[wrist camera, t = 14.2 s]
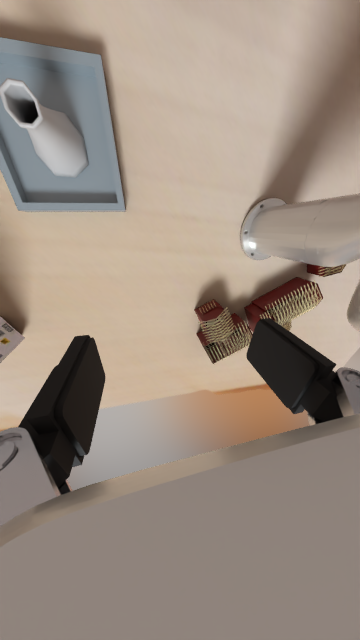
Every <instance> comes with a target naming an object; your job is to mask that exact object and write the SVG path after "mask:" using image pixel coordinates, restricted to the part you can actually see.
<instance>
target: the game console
mask: <svg viewBox="0 0 360 640" xmlns="http://www.w3.org/2000/svg"><path fill="white" fill-rule="evenodd" d="M24 338H25V337H23V336H22V335H21V334H20V333H19V332H17V331H16V330H15V329H14V328H13V327H12V326H11V325H9V324H8V323H7V322H6V321H5V320H4V319H3V318H2V317H1V316H0V363H1V362H2V361H3V360H4V359H5V358H6V357H7V356H8V355H9V354H10V353H11V352H12V351H13V350H14V349H15V348H16V347H17V346H18V344H19V343H20V342H21V341H22V340H23V339H24Z"/></svg>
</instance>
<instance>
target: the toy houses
mask: <svg viewBox="0 0 360 640" xmlns="http://www.w3.org/2000/svg"><path fill="white" fill-rule="evenodd" d="M345 266H346V264H344V265H340V266H334V267H323V266H318V265H312V264H307V272H308V273H311V274H315V275H319V277H321V276H323V277H325V276H329V275H333V274H337V273H340V272H342V270H343V269H344V267H345ZM314 282H315V280H314ZM314 282H311V281H308V280H304V279H301V278H298V277H296V278H294V279H292V280H290V281H289V282H287V283H285V284H283V285H281V286H279V287H278V288H276V289H274V290H272V291H270V292H268V293H266V294H265V295H263V296H261V297H259V298H257V299H255V300H254V301H252V304H250V305H248V306H246V307H244V308H245V312H246V316H247V320H248V324H249V326H248V324H247V323H246V322H245V321H244V320H242V319H241V318H240V317H239V316H238V315H237V314H236V313H233V314H232V315H230V316H228V317H227V315H228V314H229V313H228V314H227V315H226V313H227V312H228V311H227V312H226V313H225V310H226V309H227V308H228V307H227V308H226V309H225V310H224V308H223V307H222V306H221V305H220V304H219V303H217V302H216V301H215V300H214V299H213V300H211V301H209V302H208V303H206V304H204V305H202V306H200V307H198V308H197V309H195V312H196V314H197V316H198V318H199V320H200V322H199V323H201V324H202V325H200V326H202V327H203V329H204V330H202V331H200V332H198V333H197V336H198V338H199V340H200V341H201V343H202V345H203V347H205V346H206V345H208V344H210V343H211V344H212V342H215V343H216V344H215V345H214V346H213V345H212V347H209V348H208V349H207V348H206V347H205V348H204V349H206V350H205V351H206V353H207V354H208V356H209V358H210V360H211V361H212V363H213V364H214V363H216V362H217V361H220V360H221V359H222V360H223V358H225V357H226V358H227V356H229V355H231V354H233V353H234V354H235V352H236V351H237V353H238V351H239V350H240V349H242V348H244V347H245V348H246V346H247V345H248V346H249V344H250V342H251V339H252V335H253V334H252V332H251V330H252V331H253V332H254V329H255V326H256V323H257V322H258V321H259V320H260V319H265V318H271V319H272V320H274V321H275V322H277V323H278V324H279V325H281V326H282V327H284V328H285V329H287V330H288V331H289V330H290V328H291V327H290V326H291V325H290V324H291V323H292V322H291V319H292V318H293V319H294V318H295V317H296V318H297V316H298V315H299V316H300V315H302V314H303V313H304V312H305V313H306V311H307V310H308V311H309V310H310V311H311V309H312V308H313V307H314V308H315V306H317V305H318V304H319V302H320V301H321V300H322V299H323V296H322V294H321V291H320V289H319V286H318V284H317V283H314ZM295 295H296V296H295ZM294 296H295V297H296V298H295V299H294ZM292 297H293V299H292V300H291V299H290V298H292ZM288 299H289V301H290V302H288V301H287V300H288ZM284 301H286V304H284ZM282 302H283V305H282V306H280V307H279V308H277V309H275V308H274V307H275V306H277V305H279V304H280V305H281V303H282ZM277 307H278V306H277ZM271 308H274V309H275V310H273V312H272V310H271ZM314 308H313V309H314ZM269 309H270V311H271V312H272V313H270V314H269V312H268V310H269ZM308 311H307V312H308ZM305 313H304V314H305ZM299 316H298V317H299ZM218 317H220V319H219V320H220V321H219V320H216V319H217V318H218ZM293 319H292V320H293ZM210 320H211V321H212V320H213V321H214V320H215V322H213V321H212V322H211V323H212V324H213V323H214V324H213V325H211V324H210V323H208V322H207V323H208V324H210V325H211V326H209V325H208V326H206V324H207V323H206V324H205V323H204V322H206V321H209V322H210ZM218 321H219V322H218ZM289 321H290V322H291V323H290V322H289ZM289 323H290V324H289ZM289 325H290V326H289ZM207 327H208V328H207ZM289 327H290V328H289ZM238 328H239V331H240V332H238V330H237V332H238V333H236V334H235V332H234V330H236V329H238ZM250 329H251V330H250ZM232 331H233V332H234V335H232V334H231V333H232ZM229 333H230V334H231V335H232V336H230V337H229V335H230V334H229ZM227 334H229V335H228V336H227V337H225V336H226V335H227ZM219 338H220V339H221V338H225V339H224V340H223V339H222V340H223V341H222V340H219ZM226 338H227V339H226ZM220 341H221V342H220ZM208 346H209V345H208ZM229 357H230V356H229Z"/></svg>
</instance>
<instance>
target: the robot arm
mask: <svg viewBox="0 0 360 640" xmlns="http://www.w3.org/2000/svg"><path fill="white" fill-rule="evenodd" d="M244 232H245V233H244ZM240 241H241V246H242V249H243V251H244V253H245V254H246V255H247V256H248V257H250V258H252V259H255V260H264V259H267V258H269V257H271V256H274V257H279V258H284V259H288V260H293V261H298V262H303V263H307V264H312V265H318V266H323V267H334V266H340V265H344V264H347V263H350V262H353V261H355V260H357V259H360V193H359V194H353V195H346V196H341V197H334V198H328V199H321V200H314V201H307V202H301V203H294V204H286V203H285V202H284V201H283V200H281V199H279V198H269V199H265V200H263V201H261V202H259V203H258V204H257V205H255V206H254V207H253V208H252V209H251V210H250V212H249V213H248V215H247V216H246V218H245V220H244V222H243V225H242V229H241V236H240ZM347 319H348V321H349V323H350V324H351V326H353V327H354V328H355V329H356V330H358V331H359V332H360V280H359V282H358V285H357V287H356V289H355V292H354V294H353V296H352V299H351V301H350V304H349V307H348V310H347ZM247 359H248V361H249V362H250V363H251V364H252V366H253V367H254V368H255V369H256V371H257V372H258V373H259V374H260V375H261V377H262V378H263V379H264V380H265V382H266V383H267V384H268V385H269V387H270V388H271V389H272V390H273V391H274V393H275V394H276V395H277V396H278V398H279V399H280V400H281V401H282V403H283V404H284V405H285V406H286V407H287V408H289V409H290V410H291V411H292V413H293V414H297V413H300V412H303V411H304V409H305V410H306V411H307V412H308V420H309V426H307V427H303V428H299V429H295V430H291V431H287V432H284V433H280V434H276V435H272V436H268V437H265V438H261V439H257V440H253V441H249V442H246V443H241V444H238V445H234V446H230V447H227V448H222V449H219V450H215V451H211V452H207V453H204V454H200V455H196V456H192V457H189V458H185V459H181V460H177V461H174V462H170V463H166V464H162V465H159V466H155V467H151V468H147V469H144V470H140V471H137V472H133V473H130V474H126V475H123V476H120V477H116V478H112V479H109V480H106V481H103V482H99V483H95V484H92V485H89V486H86V487H83V488H80V489H77V490H74V491H73V490H72V488H71V486H70V485H69V482H68V480H67V478H68V477H69V476H70V472H71V469H72V467H75V466H79V465H82V462H83V458H84V455H87V454H88V453H89V450H90V446H91V442H92V437H93V432H94V428H95V424H96V419H97V415H98V410H99V406H100V401H101V397H102V392H103V388H104V383H105V373H104V370H103V366H102V363H101V360H100V356H99V353H98V350H97V346H96V343H95V340H94V338H90V336H89V335H84V336H76V337H74V339H73V341H72V342H71V344H70V346H69V347H68V349H67V351H66V353H65V354H64V356H63V358H62V359H61V361H60V363H59V364H58V365H57V366H56V367H55V368H54V369H53V370H52V372H51V374H50V375H49V377H48V379H47V380H46V382H45V383H44V385H43V387H42V388H41V390H40V392H39V393H38V395H37V397H36V398H35V400H34V402H33V403H32V405H31V407H30V408H29V410H28V412H27V413H26V415H25V417H24V418H23V420H22V421H21V423H20V425H19V426H18V427H16V428H10V429H7V430H4V431H1V432H0V640H360V372H359V371H357V370H354V369H350V368H339V369H338V370H337V371H336V373H335V372H334V371H332V370H333V368H334V367H335V366H336V364H335V363H333V362H332V361H331V360H329V359H328V358H326V357H325V356H324V355H322V354H321V353H319V352H318V351H316V350H315V349H314V348H312V347H311V346H309V345H308V344H306V343H305V342H304V341H302V340H301V339H299V338H298V337H297V336H295V335H294V334H292V333H291V332H289V331H288V330H287V329H285V328H284V327H282V326H281V325H279V324H278V323H277V322H275V321H274V320H272V319H271V318H265V319H260V320H259V321H258V322H257V323H256V326H255V329H254V332H253V335H252V339H251V342H250V345H249V348H248V351H247Z"/></svg>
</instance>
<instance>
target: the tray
mask: <svg viewBox="0 0 360 640" xmlns="http://www.w3.org/2000/svg"><path fill="white" fill-rule="evenodd" d="M6 78H10V79H16V80H21V81H24V82H25V84H26V85H27V86H28V88H29V89H30V90H31V92H32V93H33V94H34V96H35V97H36V98H37V99H38V101H39V104H41V105H42V106H43V107H46V108H49V109H52V110H54V111H58V112H62V113H65V114H66V115H67V116H68V118H69V119H70V120H71V122H72V123H73V125H74V126H75V127H76V129H77V130H78V132H79V133H80V134H81V136H82V137H83V139H84V143H85V148H86V153H87V158H88V163H89V165H88V166H87V167H86V168H85V169H84V170H83V171H82V172H81V173H80V174H79V175H78V176H77V177H76V178H74V177H62V176H55V175H54V174H53V172H52V171H51V170H50V169H49V168H48V167H47V166H46V165H45V163H44V162H43V161H42V160H41V159H40V158H39V157H38V155H37V154H36V152H35V149H34V146H33V143H32V140H31V138H30V135H29V133H28V131H27V129H26V128H21V127H20V126H19V125H18V124H17V123H16V121H15V120H14V119H13V118H12V117H11V116H10V114H9V113H8V112H7V111H6V110H5V107H4V105H3V102H2V99H1V96H0V170H1V172H2V174H3V177H4V179H5V181H6V183H7V186H8V188H9V190H10V193H11V195H12V197H13V199H14V202H15V204H16V206H17V209H18V210H19V211H26V212H126V209H125V203H124V197H123V190H122V184H121V177H120V171H119V165H118V158H117V152H116V145H115V139H114V133H113V126H112V120H111V114H110V107H109V101H108V94H107V88H106V82H105V75H104V69H103V64H102V59H101V55H98V54H92V53H86V52H81V51H75V50H69V49H64V48H58V47H52V46H47V45H41V44H35V43H30V42H24V41H19V40H13V39H7V38H2V37H0V86H1V84H2V83H3V82H4V81H5V80H6Z"/></svg>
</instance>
